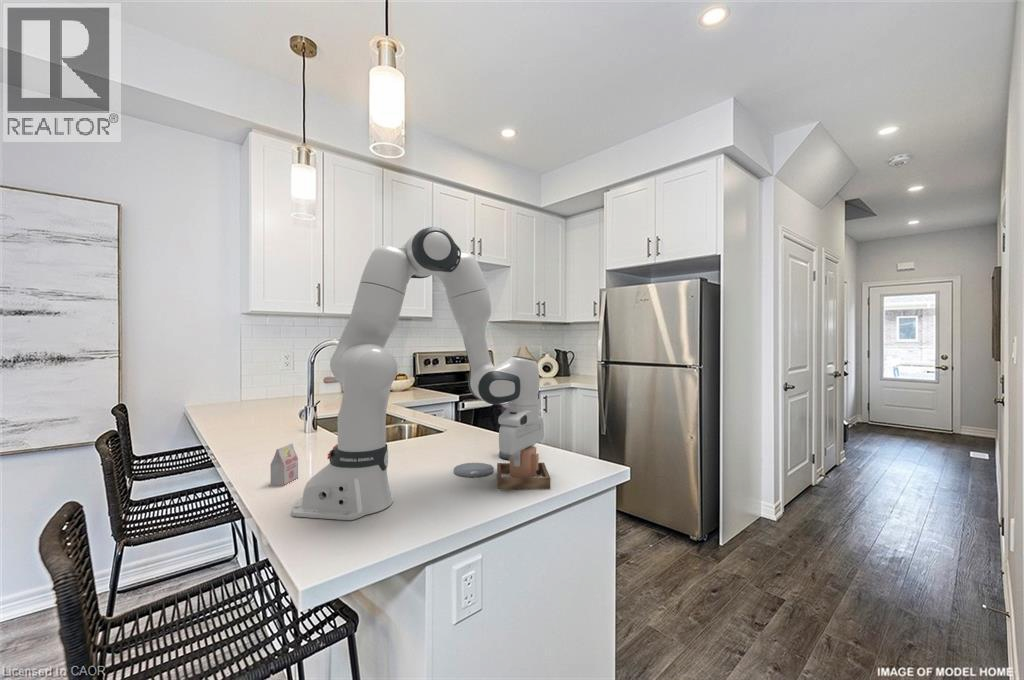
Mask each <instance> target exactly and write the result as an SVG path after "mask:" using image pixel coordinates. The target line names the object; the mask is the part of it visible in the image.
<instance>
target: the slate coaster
mask: <svg viewBox="0 0 1024 680" xmlns="http://www.w3.org/2000/svg"><path fill="white" fill-rule="evenodd" d="M494 470H495V468H494V466H493V465H492V464H489V463H485V462H467V463H460V464H459V465H456V466H454V467H453V474H454V475H456V476H458V477H460V478H461V477H462V478H467V477H470V478H471V479H472V478H473V479H475V478H474V477H477V478H484V477H487V475H488V476H490V475H492V474H493V473H494V472H495V471H494ZM483 476H484V477H483Z"/></svg>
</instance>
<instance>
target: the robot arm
mask: <svg viewBox="0 0 1024 680" xmlns="http://www.w3.org/2000/svg"><path fill="white" fill-rule="evenodd" d="M455 242H456V241H455V240H454V239H453V237H452V236H451V235H450V233H448V231H446V230H445V229H443V228H441V227H436V226H428V227H425V228H422V229H421V230H419V231H417V232H416V233H415V234H414V235H412V236H410V238H409V239H408V240H407V241H406V242H405V244H404V245H402V246H401V247H396V246H393V245H381V246H377V247H376V248H374V250H373V251H372V252H371V254H370V256H369V258H368V260H367V262H366V264H365V267H364V269H363V271H362V274H361V277H360V281H359V285H358V288H357V292H356V294H355V295H356V296H355V300H354V302H353V305H352V311H351V312H350V315H349V318H348V321H347V323H346V325H345V327H344V330H343V332H342V334H341V336H340V339H339V340H338V343H337V345H336V349H335V351H334V352H333V353H332V355H331V358H330V361H329V367H330V372H331V373H332V375H333V376H334V378H335V380H336V381H337V382H339V383H340V384H342V385H343V392H342V398H341V402H340V403H341V405H340V408H339V411H338V413H337V444H335V445H334V446H333V447H332V449H331V450H330V451H329V453H327V457H326V458H327V460H329V463H328V464H326V466H324V467H323V468H322V469H321V470H319V471H318V472H317V473H316V474H314V475H313V476H312V477H311V478H310V479H309V480H307V482H306V484H305V486H304V490H303V494H302V497H301V498H299V500H296V502H295V503H294V504H293V505H292V508H291V516H292V517H298V518H313V519H329V520H339V521H341V520H342V521H354V520H357V519H359V518H362V517H364V516H367V515H371V514H374V513H378V512H380V511H383V510H385V509H387V508H389V507H390V506H391V505H392V504H393V502H394V500H393V497H392V493H391V489H390V485H389V480H388V479H389V478H388V464H389V450H388V449H389V448H388V444H387V443H386V438H387V437H386V436H387V435H386V433H387V425H386V424H387V418H386V417H387V408H388V403H389V398H390V394H391V389H392V384H393V383H394V382H395V379H396V377H397V375H398V363H397V360H396V358H395V356H394V355H393V354H392V353H391V352H390V351H389V350H387V349H386V348H385V346H386V344H387V342H388V340H389V338H390V337H391V335H392V333H393V331H394V330H395V329H396V327H397V325H398V322H399V318H400V316H401V312H402V311H401V310H402V306H403V303H404V301H405V300H404V299H405V296H406V295H405V294H406V292H407V286H408V284H409V281H410V280H411V279H425V278H429V277H431V276H436V277H437V278H438V279H439V280H440V281H441V282H442V284H443V287H444V288H445V293H446V297H447V301H448V304H449V307H450V310H451V312H452V315H453V318H454V321H455V322H456V324H457V327H458V329H459V332H460V334H461V336H462V339H463V343H464V347H465V348H464V349H465V352H466V356H467V359H468V364H469V373H468V379H467V380H468V381H467V384H468V385H467V386H468V389H469V392H470V393H471V394H472V395H473V397H475V398H476V399H478V400H481V401H483V402H485V403H487V404H489V405H493V404H506V403H508V408H506V410H505V411H504V412H503V413H502V412H501V414H500V415H499V416H498V424H499V425H500V427H499V428H500V429H499V431H498V448H499V451H500V452H501V453H502V454H507V455H512V457H513V459H514V466H517V467H519V466H521V465H522V459H520V455H519V454H521V450H523V449H525V448H527V447H535V445H536V444H538V443H540V442H542V441H543V440H544V437H545V428H544V427H545V426H544V419H543V417H542V414H541V412H540V399H539V392H540V369H539V365H538V363H537V362H536V360H535V359H534V358H530V357H525V356H519V355H512V356H511V357H510V358H509V359H507V360H506V361H504V362H502V363H500V364H498V365H496V366H495V365H494V364H493V362H492V360H491V357H490V353H489V347H488V343H487V338H486V328H487V324H488V321H489V319H490V318H491V315H492V305H491V304H492V303H491V302H492V301H491V296H490V293H489V288H488V285H487V281H486V279H485V277H484V276H485V275H484V273H483V271H482V268H481V266H480V264H479V262H478V260H477V259H476V257H475V256H474V255H473V254H472V253H468V252H463V251H461V248H460V247H459V246H458V245H457V243H455Z"/></svg>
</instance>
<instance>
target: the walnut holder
mask: <svg viewBox="0 0 1024 680" xmlns="http://www.w3.org/2000/svg"><path fill="white" fill-rule="evenodd" d="M536 473H541V476H535V477H510V476H503V477H502V475H510V462H497V464H496V478H497V479H496V480H497V481H496V482H497V490H498V489H514V490H551V477H550V474H549V471H548V469H547V466H546V464H545V462H538V470H537V471H536Z"/></svg>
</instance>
